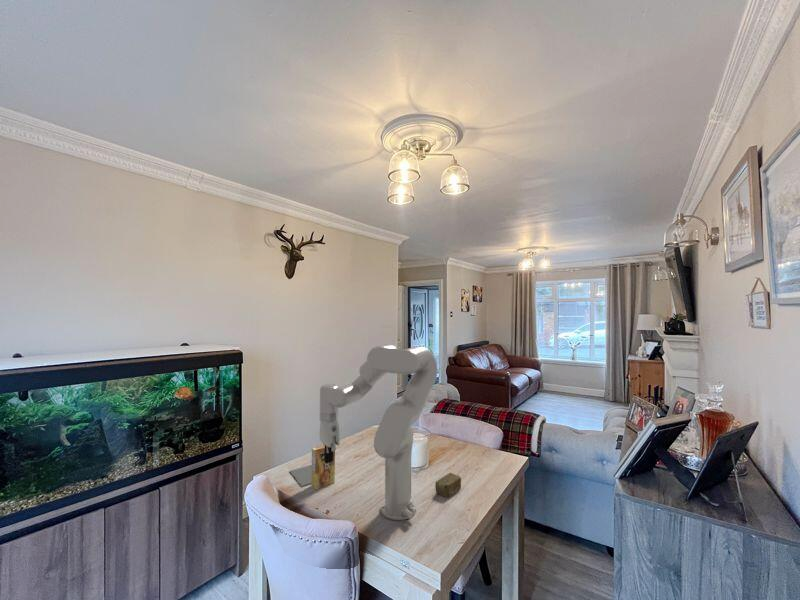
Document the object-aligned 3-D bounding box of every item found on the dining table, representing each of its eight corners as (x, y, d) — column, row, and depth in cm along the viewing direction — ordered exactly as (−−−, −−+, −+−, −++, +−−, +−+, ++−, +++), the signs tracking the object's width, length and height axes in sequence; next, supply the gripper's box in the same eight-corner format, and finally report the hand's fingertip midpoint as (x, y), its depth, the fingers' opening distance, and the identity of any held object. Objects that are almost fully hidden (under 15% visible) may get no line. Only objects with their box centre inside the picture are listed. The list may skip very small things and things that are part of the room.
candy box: (330, 478, 143) (330, 442, 144) (335, 482, 140) (335, 445, 141) (310, 485, 138) (311, 448, 138) (315, 489, 134) (315, 451, 135)
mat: (333, 477, 145) (333, 476, 145) (301, 486, 137) (301, 485, 137) (319, 463, 158) (319, 462, 158) (289, 471, 150) (289, 470, 150)
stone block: (434, 494, 132) (434, 481, 132) (450, 483, 140) (450, 471, 140) (446, 499, 128) (446, 486, 128) (462, 488, 136) (462, 475, 137)
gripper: (345, 419, 131) (345, 466, 131) (330, 409, 144) (329, 453, 143) (327, 422, 127) (327, 471, 126) (313, 412, 139) (312, 457, 139)
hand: (328, 461), depth 135 cm, fingers closed
